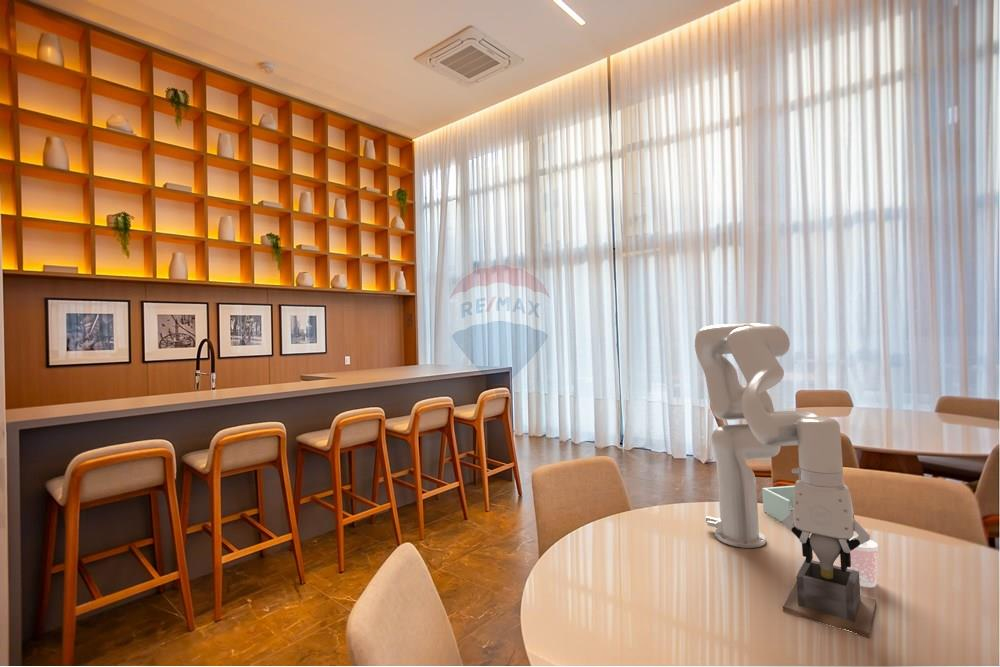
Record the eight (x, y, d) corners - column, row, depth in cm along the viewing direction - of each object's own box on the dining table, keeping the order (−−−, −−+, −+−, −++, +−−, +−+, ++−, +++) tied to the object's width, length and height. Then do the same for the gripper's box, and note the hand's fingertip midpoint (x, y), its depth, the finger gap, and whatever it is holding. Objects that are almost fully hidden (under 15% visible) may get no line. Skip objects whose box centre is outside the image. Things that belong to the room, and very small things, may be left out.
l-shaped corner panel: (789, 526, 137) (787, 500, 137) (763, 511, 149) (762, 488, 149) (828, 523, 138) (826, 497, 138) (799, 508, 150) (798, 485, 150)
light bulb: (849, 586, 94) (846, 536, 94) (818, 585, 95) (816, 535, 95) (835, 572, 99) (832, 525, 99) (806, 571, 100) (804, 524, 100)
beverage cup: (871, 592, 101) (867, 527, 102) (840, 580, 107) (836, 518, 107) (886, 584, 104) (881, 520, 104) (855, 572, 110) (851, 512, 110)
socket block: (783, 611, 96) (780, 577, 96) (797, 583, 106) (795, 552, 107) (869, 638, 87) (866, 600, 87) (876, 604, 97) (874, 570, 97)
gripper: (770, 475, 100) (775, 560, 100) (871, 489, 88) (877, 585, 88) (778, 467, 106) (783, 547, 105) (875, 479, 94) (881, 570, 94)
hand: (826, 564), depth 97 cm, fingers closed on light bulb, 5 cm apart
